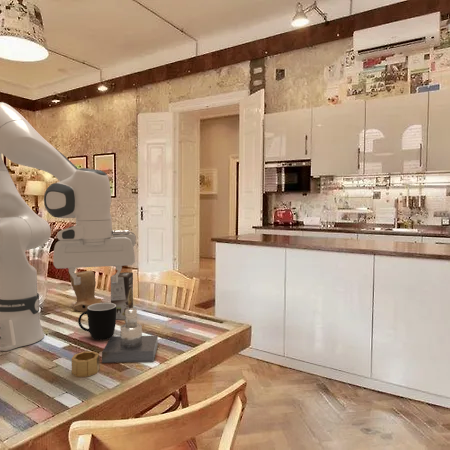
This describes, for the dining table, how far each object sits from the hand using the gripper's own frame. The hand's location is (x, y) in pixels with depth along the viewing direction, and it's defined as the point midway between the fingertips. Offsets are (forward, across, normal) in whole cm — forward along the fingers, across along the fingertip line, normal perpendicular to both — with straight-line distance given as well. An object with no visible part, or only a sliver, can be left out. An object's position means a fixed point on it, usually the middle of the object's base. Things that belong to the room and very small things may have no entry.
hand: (96, 283), depth 103 cm
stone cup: (+22, +12, -59) cm, 64 cm away
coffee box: (+23, -4, -45) cm, 51 cm away
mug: (+23, +3, -24) cm, 33 cm away
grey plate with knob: (+23, -8, -8) cm, 26 cm away
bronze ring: (+23, +3, +1) cm, 23 cm away
